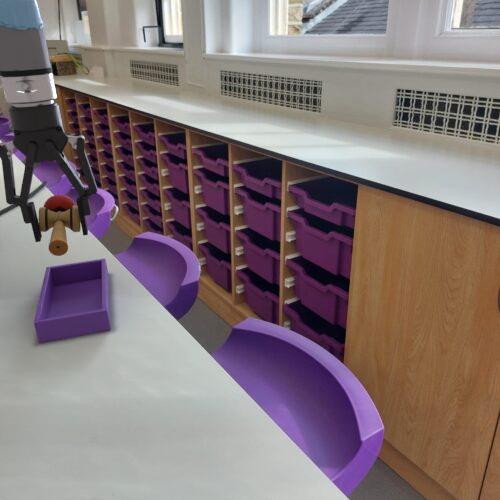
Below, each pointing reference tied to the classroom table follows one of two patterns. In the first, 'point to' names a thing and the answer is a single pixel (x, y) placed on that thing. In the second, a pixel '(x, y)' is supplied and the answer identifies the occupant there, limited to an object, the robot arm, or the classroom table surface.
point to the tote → (73, 301)
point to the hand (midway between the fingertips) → (62, 235)
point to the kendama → (59, 221)
